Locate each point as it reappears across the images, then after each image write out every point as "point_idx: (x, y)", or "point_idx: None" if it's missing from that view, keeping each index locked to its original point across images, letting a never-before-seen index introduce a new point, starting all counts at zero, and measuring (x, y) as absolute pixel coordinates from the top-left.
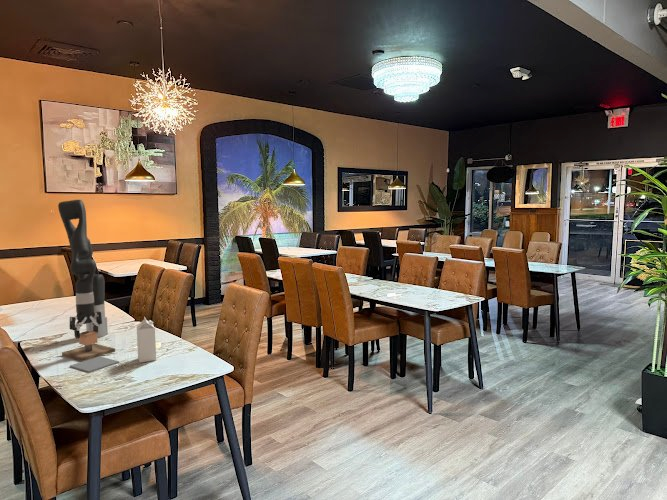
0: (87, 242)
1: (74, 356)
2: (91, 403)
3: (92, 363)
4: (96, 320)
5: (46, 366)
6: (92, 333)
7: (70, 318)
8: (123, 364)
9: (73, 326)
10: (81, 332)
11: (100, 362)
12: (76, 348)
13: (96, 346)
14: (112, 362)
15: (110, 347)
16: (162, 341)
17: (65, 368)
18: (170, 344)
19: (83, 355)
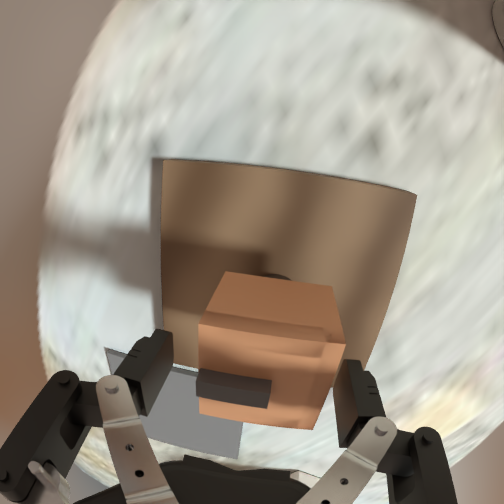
0: None
1: (163, 298)
2: (87, 470)
3: (171, 409)
4: (419, 461)
5: (58, 253)
6: (267, 424)
7: (1, 474)
8: (232, 466)
9: (66, 436)
10: (196, 379)
11: (194, 425)
12: (272, 170)
13: (363, 271)
14: (217, 450)
15: (365, 361)
16: (488, 409)
17: (94, 345)
18: (452, 446)
19: (192, 339)
